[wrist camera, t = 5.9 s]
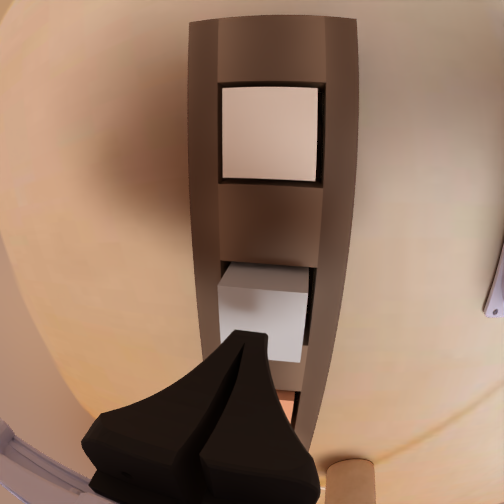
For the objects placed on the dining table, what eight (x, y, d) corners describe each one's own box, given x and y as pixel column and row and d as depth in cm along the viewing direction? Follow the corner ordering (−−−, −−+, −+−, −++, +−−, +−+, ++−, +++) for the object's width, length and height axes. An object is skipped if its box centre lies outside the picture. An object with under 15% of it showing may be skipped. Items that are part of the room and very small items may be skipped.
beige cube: (315, 97, 15) (317, 88, 12) (314, 172, 17) (315, 181, 13) (239, 96, 16) (222, 88, 12) (239, 168, 17) (222, 177, 14)
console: (348, 39, 14) (356, 19, 11) (309, 425, 25) (307, 455, 22) (210, 39, 15) (189, 22, 12) (224, 415, 26) (214, 443, 23)
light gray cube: (308, 262, 17) (308, 293, 14) (303, 325, 19) (300, 362, 15) (234, 257, 18) (217, 285, 15) (235, 318, 19) (221, 353, 16)
